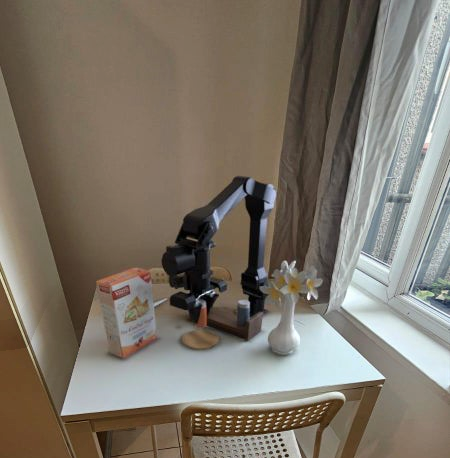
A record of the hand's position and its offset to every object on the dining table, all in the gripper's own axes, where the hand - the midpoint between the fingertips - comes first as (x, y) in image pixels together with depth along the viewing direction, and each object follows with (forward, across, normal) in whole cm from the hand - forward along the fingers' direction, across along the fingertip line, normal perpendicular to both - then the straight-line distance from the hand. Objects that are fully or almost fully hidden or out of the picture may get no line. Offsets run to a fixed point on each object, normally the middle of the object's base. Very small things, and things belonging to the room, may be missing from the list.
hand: (200, 320), depth 98 cm
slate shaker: (+4, -12, +7) cm, 15 cm away
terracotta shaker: (+1, 0, 0) cm, 1 cm away
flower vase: (+7, -10, +23) cm, 26 cm away
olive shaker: (+4, -12, -7) cm, 15 cm away
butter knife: (+7, -3, -28) cm, 29 cm away
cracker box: (+7, +15, -13) cm, 21 cm away
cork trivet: (+6, 0, 0) cm, 7 cm away
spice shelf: (+7, -12, 0) cm, 14 cm away
